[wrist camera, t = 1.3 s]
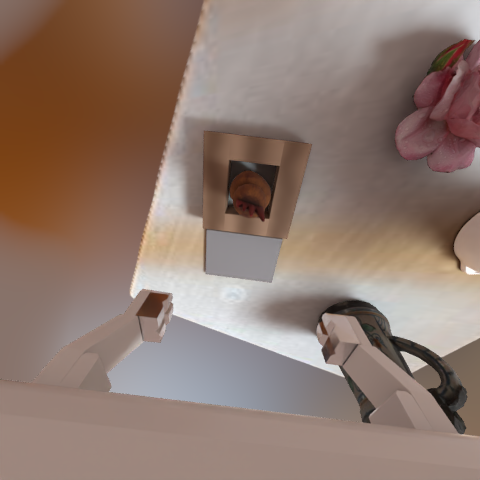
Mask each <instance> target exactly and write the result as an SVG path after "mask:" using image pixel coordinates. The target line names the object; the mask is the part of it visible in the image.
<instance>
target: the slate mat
mask: <svg viewBox="0 0 480 480" xmlns="http://www.w3.org/2000/svg"><path fill="white" fill-rule="evenodd" d="M281 243H282V238H276V237H268V236H260V235H252V234H244V233H237V232H229V231H221V230H213V229H207V236H206V274H209V275H217V276H225V277H232V278H240V279H248V280H256V281H263V282H271V283H272V279H273V275H274V271H275V267H276V263H277V259H278V255H279V251H280V247H281Z"/></svg>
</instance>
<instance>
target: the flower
mask: <svg viewBox="0 0 480 480" xmlns="http://www.w3.org/2000/svg"><path fill="white" fill-rule="evenodd" d="M474 41H475V40H473V41H472V40H467V39H464V40H462V41H460V42H458V43H456V44H453V45H451V46H450V47H448V48H447V49H445V50H444V51H442V52H441V53H440V54H439V55H438V56H437V57H436V59H435V60H434V61H433V62H432V65H431V67H430V69H429V71H428V73H427V76H426V77H425V78H424V79H423V81H422V83H421V84H420V85H419V86H418V88H417V89H416V91H415V93H414V95H413V97H414V102H415V104H416V107H417V109H418V110H417V111H415V112H414V113H412V114H410V115H409V116H407V117H406V118H405V119H404V120H403V121H402V122H401V123H400V124H399V125H398V127H397V129H396V132H395V144H396V148H397V150H398V151H399V153H400V155H401V157H403V158H404V159H406V160H418V159H421V158H423V157H426V156H427V164H428V166H429V168H430V169H432V170H433V171H438V172H446V173H450V172H453V171H455V170H457V169H463V168H466V167H468V166H470V165H471V163H472V161H473V158H474V152H475V148H476V147H479V148H480V40H479V41H478V42H477V43H476V44H475V45H474V47H473V48H472V50H471V51H470V53H469V55H468V56H467V58H466V60H464V57H463V53H464V52H465V50H466V49H467V48H468V47H469V46H470V45H471V44H472V43H473V42H474Z"/></svg>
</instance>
